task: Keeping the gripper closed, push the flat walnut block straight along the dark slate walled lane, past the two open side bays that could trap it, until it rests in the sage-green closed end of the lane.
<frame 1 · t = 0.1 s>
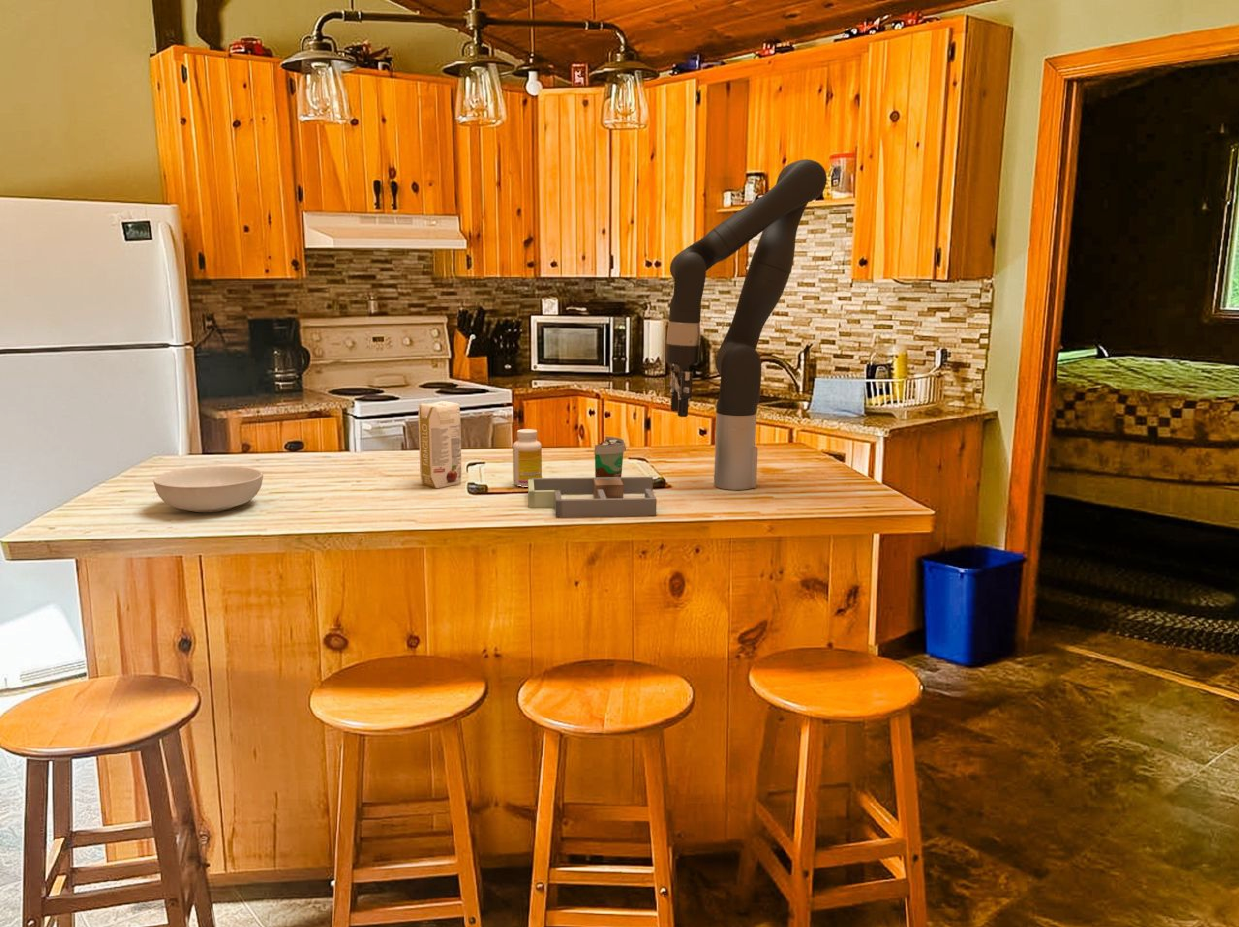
hand: (678, 413, 217), 17 cm above the table, tool pointing down, fingers open, 8 cm apart
food container: (612, 483, 224), on the table
walnut block: (608, 499, 209), resting in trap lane
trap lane: (593, 503, 205), on the table
serving bowl: (211, 508, 199), on the table
supplement bottle: (527, 485, 221), on the table
juice carton: (441, 485, 221), on the table
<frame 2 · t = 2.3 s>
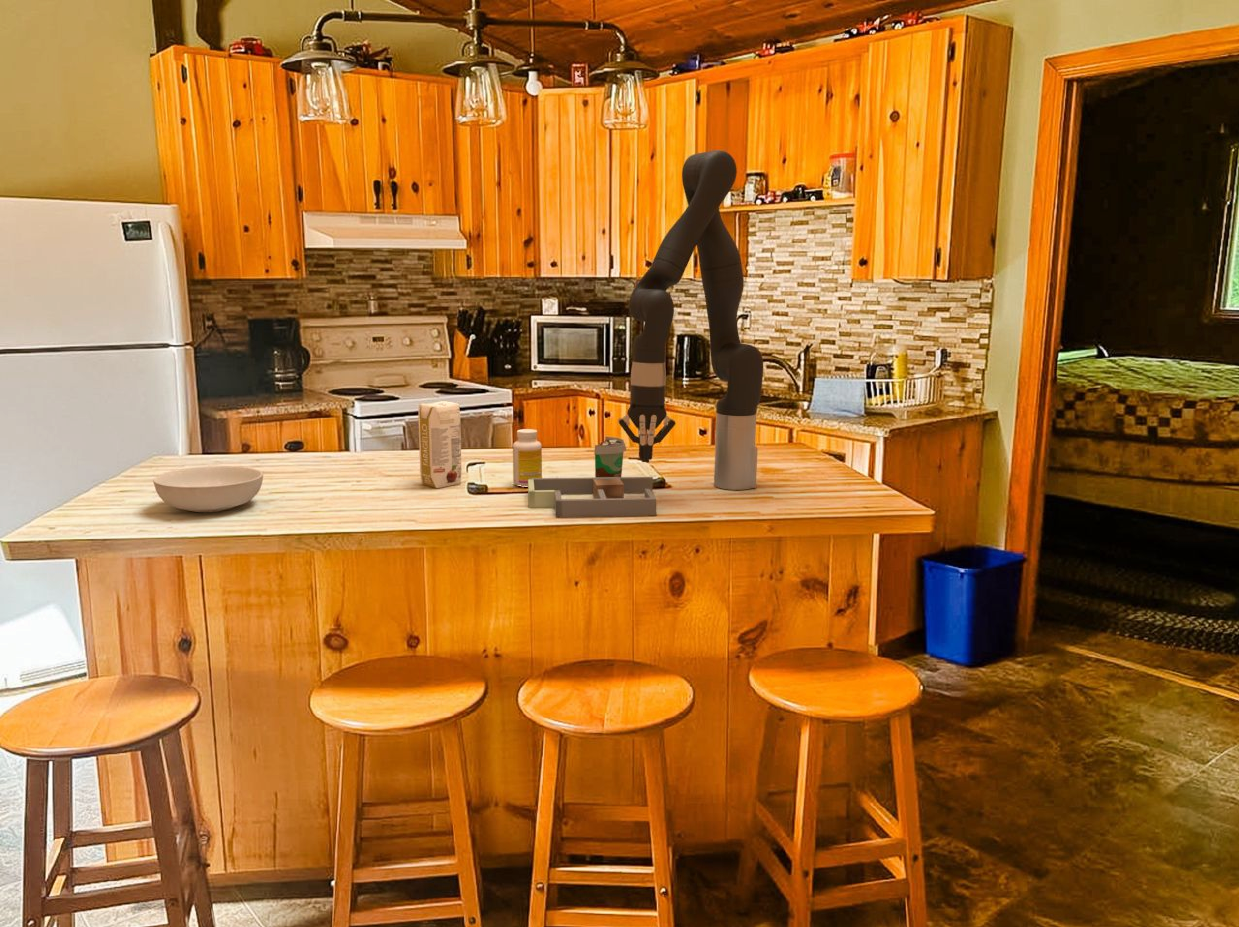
hand: (645, 461, 208), 8 cm above the table, tool pointing down, fingers closed
nothing on the table moved.
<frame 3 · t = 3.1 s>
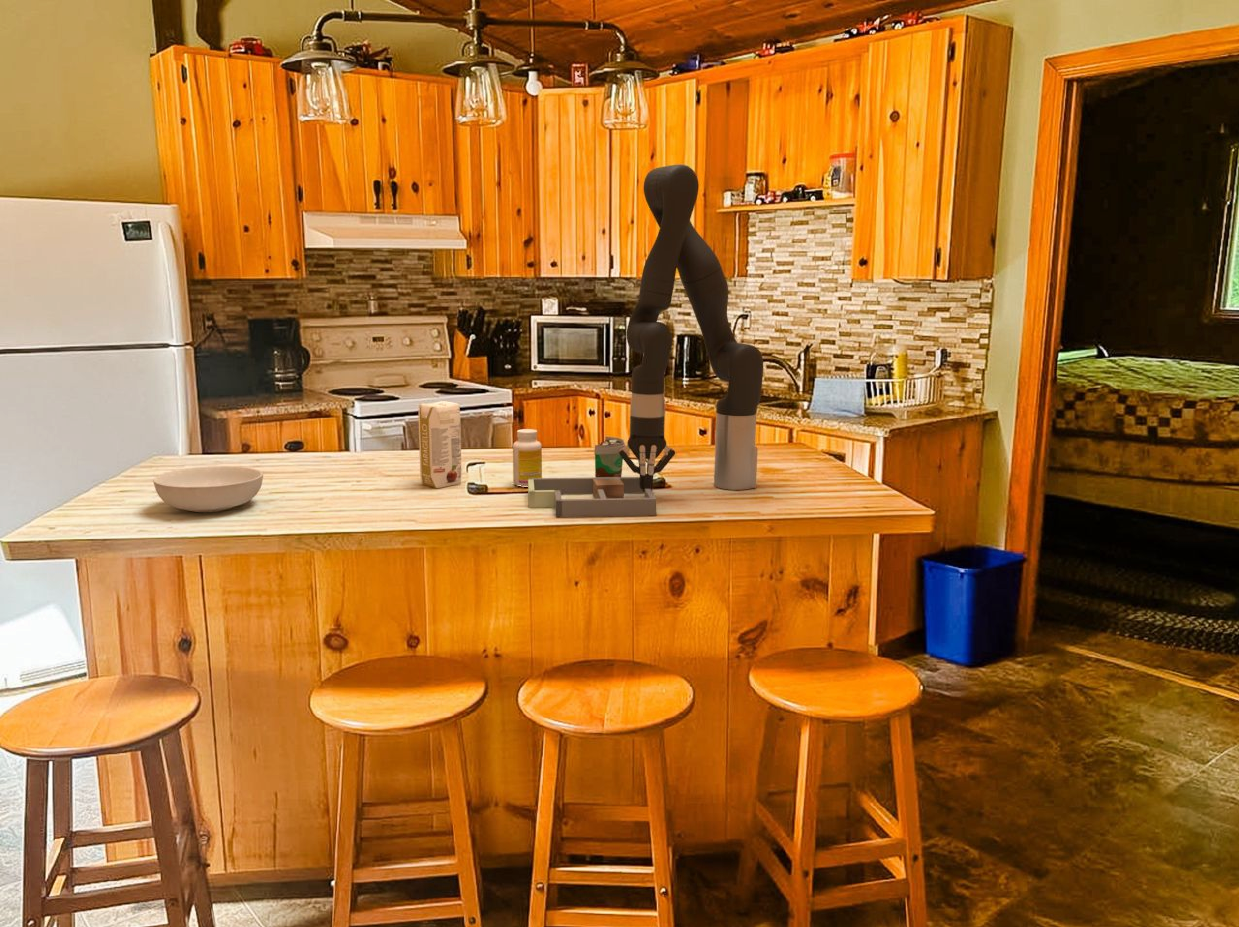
hand: (645, 490, 210), 2 cm above the table, tool pointing down, fingers closed
nothing on the table moved.
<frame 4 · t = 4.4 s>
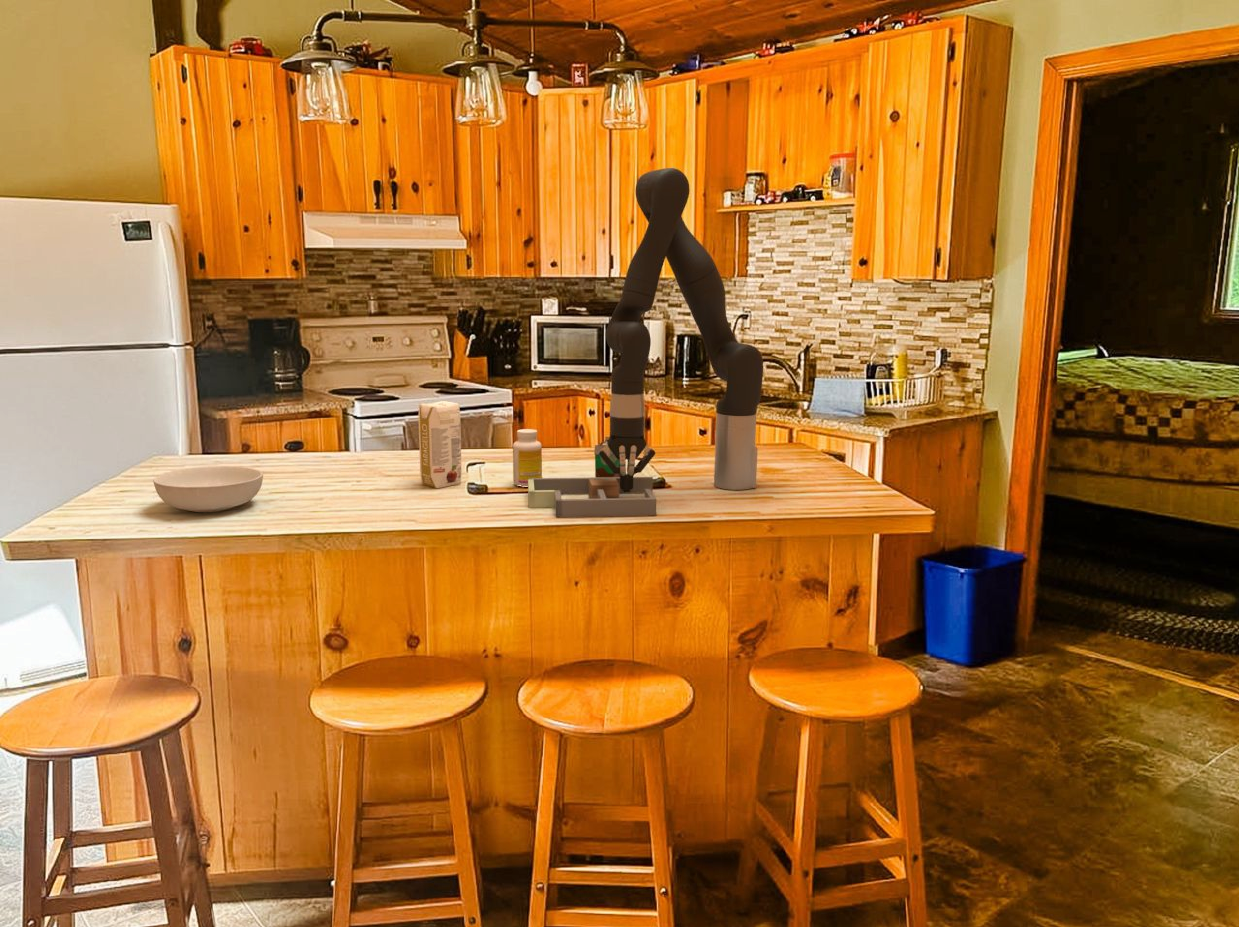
hand: (626, 491, 209), 2 cm above the table, tool pointing down, fingers closed
walnut block: (603, 499, 210), resting in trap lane, touching gripper
everything else where it was.
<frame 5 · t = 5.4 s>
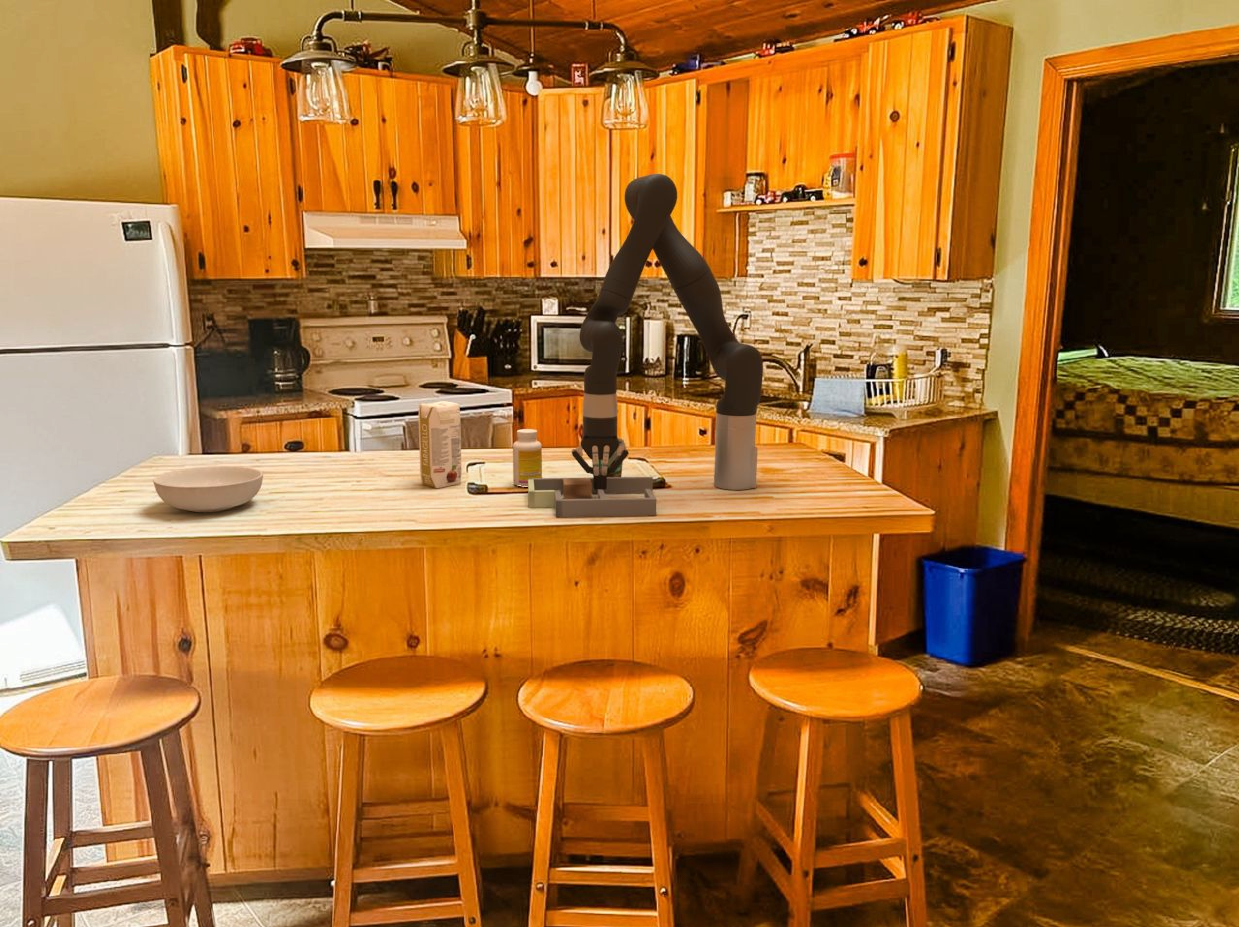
hand: (599, 491, 209), 2 cm above the table, tool pointing down, fingers closed
walnut block: (577, 498, 209), resting in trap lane, touching gripper
everything else where it was.
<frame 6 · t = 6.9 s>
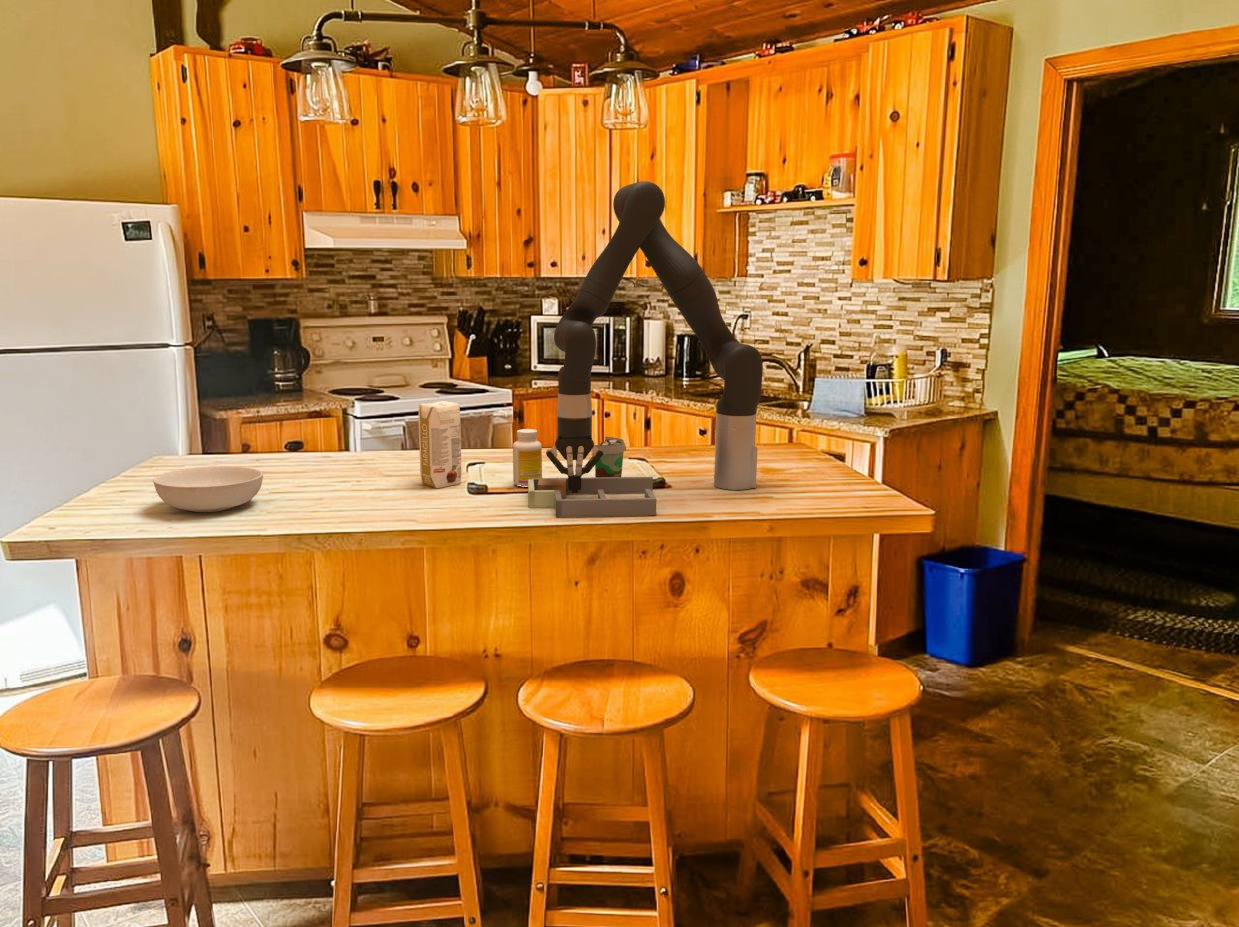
hand: (574, 492, 208), 2 cm above the table, tool pointing down, fingers closed
walnut block: (552, 499, 209), resting in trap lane
everything else where it was.
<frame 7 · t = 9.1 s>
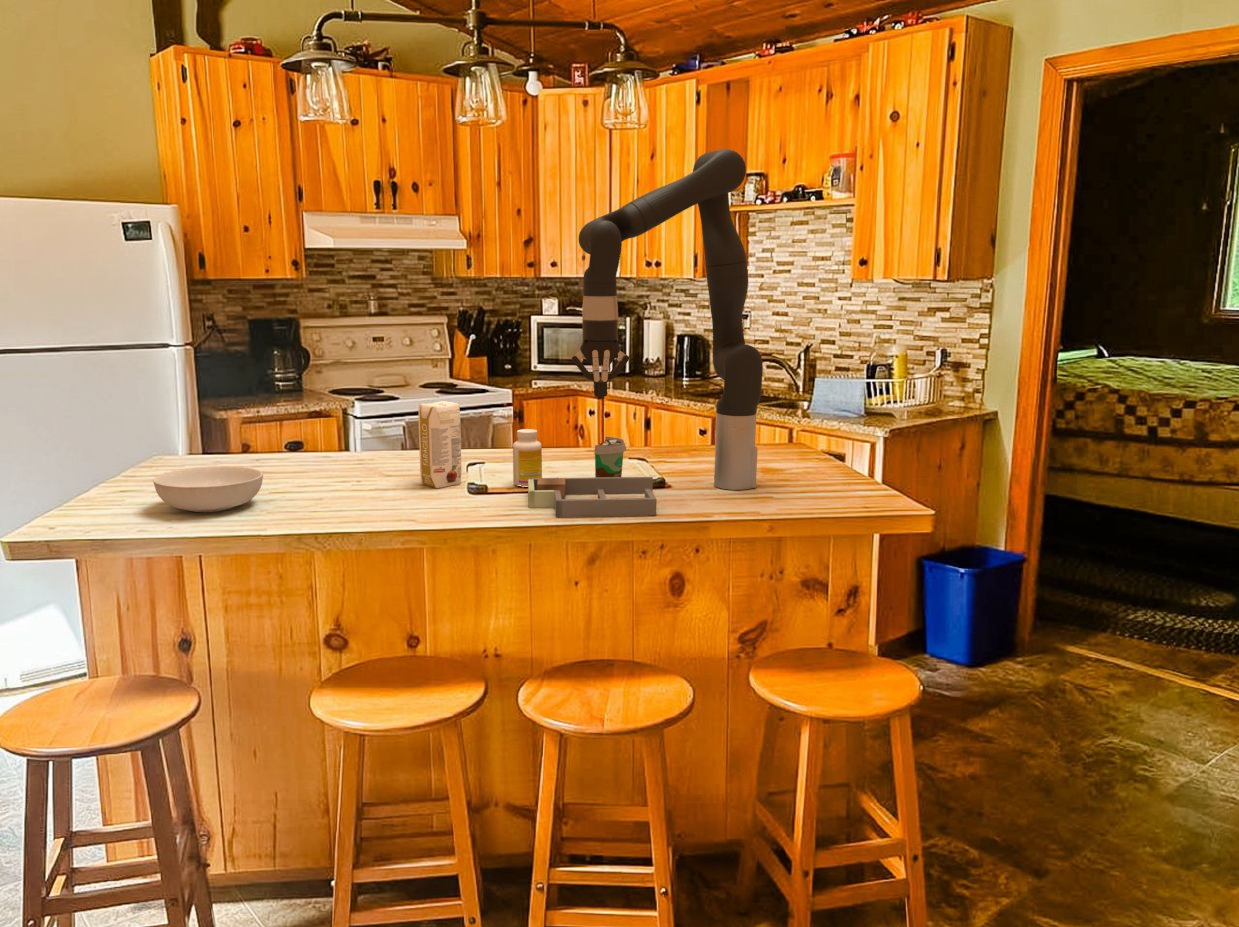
hand: (600, 398, 205), 22 cm above the table, tool pointing down, fingers closed
nothing on the table moved.
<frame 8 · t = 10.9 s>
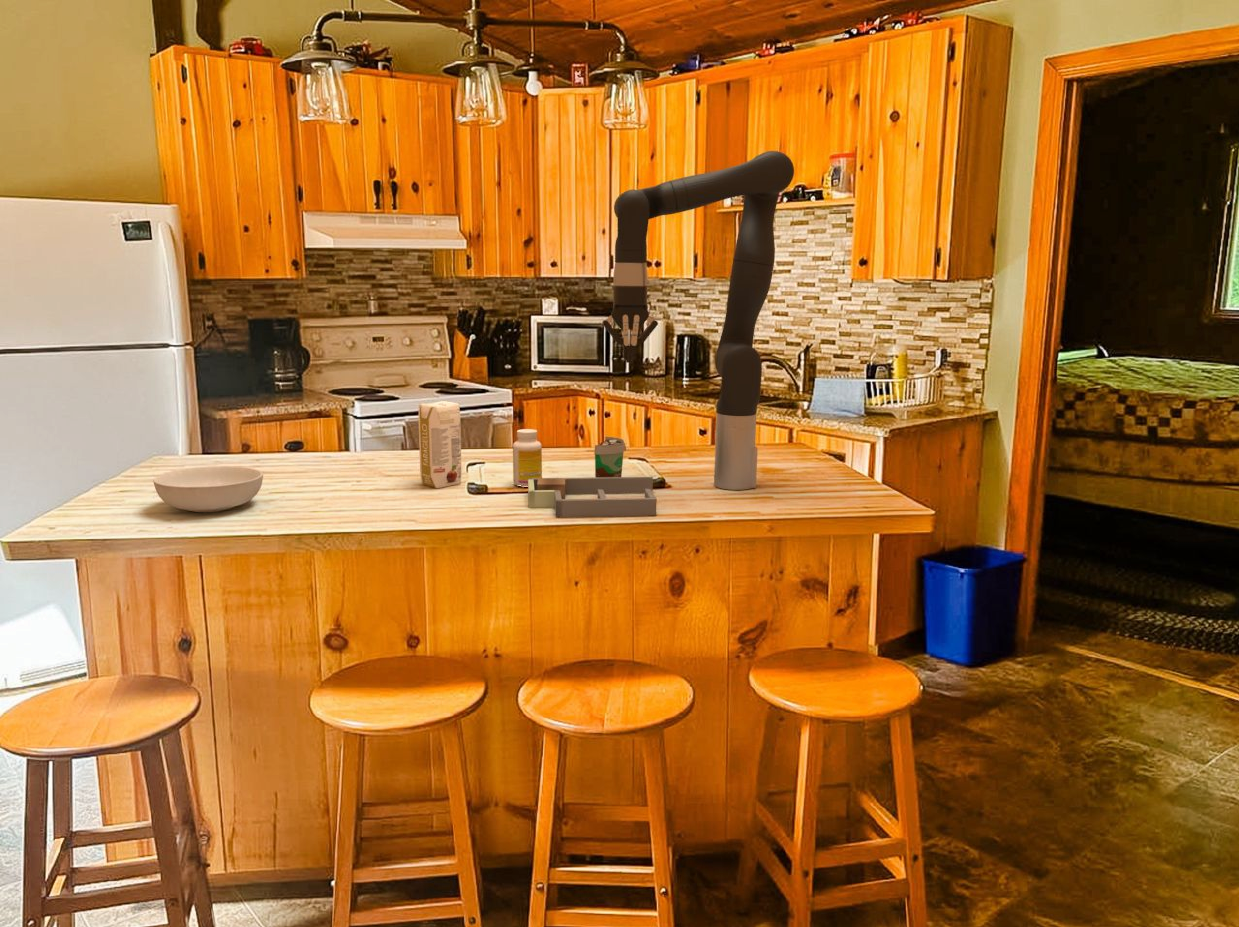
hand: (629, 362, 214), 29 cm above the table, tool pointing down, fingers closed
nothing on the table moved.
at the end: walnut block inside the target area (1.7 cm from its centre), resting in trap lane; walnut block moved 12.5 cm from its start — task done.
